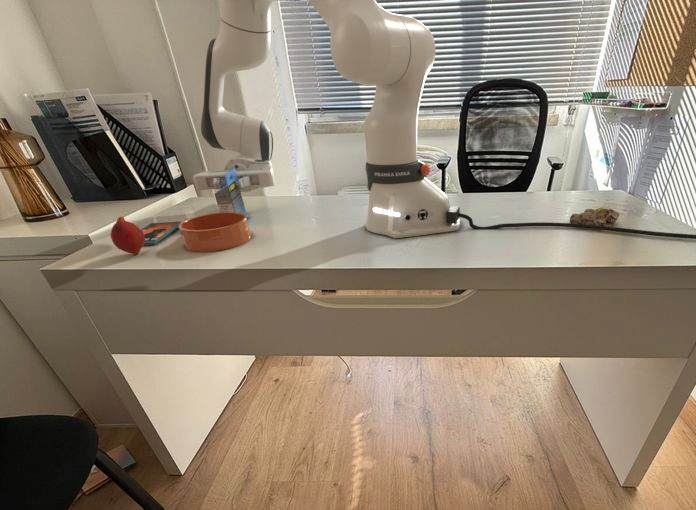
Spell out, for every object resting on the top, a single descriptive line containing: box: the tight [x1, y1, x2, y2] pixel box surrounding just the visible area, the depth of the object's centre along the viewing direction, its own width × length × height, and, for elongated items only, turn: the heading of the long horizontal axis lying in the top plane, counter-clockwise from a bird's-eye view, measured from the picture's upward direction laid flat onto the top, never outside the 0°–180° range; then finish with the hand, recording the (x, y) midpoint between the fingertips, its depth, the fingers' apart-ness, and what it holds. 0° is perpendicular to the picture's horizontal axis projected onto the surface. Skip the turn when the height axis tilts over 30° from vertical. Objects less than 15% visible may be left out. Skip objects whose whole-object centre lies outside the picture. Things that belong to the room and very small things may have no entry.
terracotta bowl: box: [177, 212, 252, 253], centre depth 88 cm, size 14×14×4 cm
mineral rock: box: [569, 207, 620, 227], centre depth 88 cm, size 11×4×8 cm
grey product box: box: [214, 168, 248, 219], centre depth 97 cm, size 9×4×12 cm, turn 5°
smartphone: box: [141, 221, 183, 246], centre depth 94 cm, size 8×1×15 cm
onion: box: [110, 215, 145, 256], centre depth 81 cm, size 6×6×8 cm
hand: (227, 185), depth 96 cm, fingers open, 4 cm apart
